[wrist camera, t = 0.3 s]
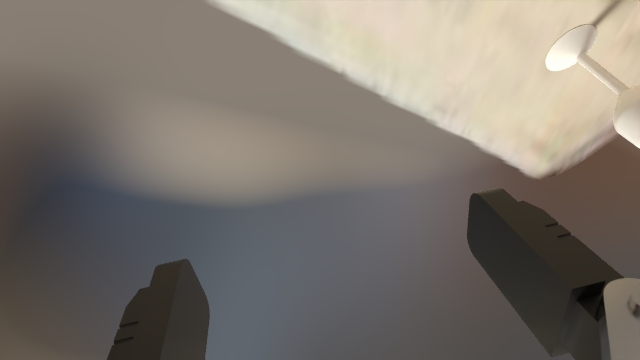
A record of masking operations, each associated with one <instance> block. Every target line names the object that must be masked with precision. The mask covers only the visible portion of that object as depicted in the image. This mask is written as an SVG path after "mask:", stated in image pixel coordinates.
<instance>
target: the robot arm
mask: <svg viewBox="0 0 640 360" xmlns="http://www.w3.org/2000/svg"><path fill="white" fill-rule="evenodd" d="M467 239H468V244H469V247H470V250H471V252H472V254H473V255H474V257H475V258H476V260H477V261H478V262H479V263H480V265H481V266H482V267H483V268H484V270H485V271H486V273H487V274H488V275H489V277H490V278H491V279H492V280H493V282H494V283H495V284H496V286H497V287H498V288H499V290H500V291H501V292H502V293H503V295H504V296H505V297H506V299H507V300H508V301H509V303H510V304H511V305H512V306H513V308H514V309H515V311H516V312H517V313H518V314H519V316H520V317H521V318H522V320H523V321H524V322H525V324H526V325H527V326H528V328H529V329H530V330H531V331H532V333H533V334H534V335H535V337H536V338H537V339H538V341H539V342H540V343H541V345H542V346H543V347H544V348H545V349H546V351H547V352H548V354H549V355H550V356H551V357H554V356H558V355H562V354H565V353H570V354H571V355H572V356H573V358H574V359H575V360H640V279H632V278H624V277H623V276H621V275H620V274H619V273H618V272H616V271H615V270H614V269H613V268H612V267H611V266H609V265H608V264H607V263H606V262H605V261H603V260H602V259H601V258H600V257H599V256H598V255H596V254H595V253H594V252H593V251H592V250H590V249H589V248H588V247H587V246H586V245H584V244H583V243H582V242H581V241H580V240H579V239H577V238H576V237H575V236H571V233H570V232H569V231H568V230H567V229H565V228H564V227H563V226H561V225H559V224H558V222H557V221H556V220H555V219H554V218H552V217H551V216H550V215H549V214H547V213H546V212H545V211H544V210H542V209H540V208H538V207H536V206H533V205H532V204H529V203H527V202H525V201H520V202H517V201H516V200H515V199H514V198H513V197H512V196H511V195H510V194H508V193H507V192H506V191H505V190H504V189H502V188H495V189H491V190H486V191H482V192H477V193H473V194H472V195H471V197H470V203H469V215H468V229H467ZM209 317H210V314H209V305H208V300H207V297H206V295H205V292H204V290H203V288H202V286H201V284H200V282H199V280H198V278H197V276H196V274H195V272H194V269H193V267H192V265H191V263H190V262H189V260H187V259H182V260H178V261H173V262H169V263H165V264H160V265H157V267H156V268H155V270H154V274H153V277H152V280H151V283H150V286H149V287H147V288H143V289H140V290H139V291H138V292H137V294H136V295H135V296H134V297H133V299H132V300H131V301H130V302H129V304H128V305H127V307H126V309H125V311H124V314H123V317H122V320H121V322H120V329H118V331H117V334H116V336H115V339H114V345H112V347H111V350H110V353H109V355H108V358H107V360H205V352H206V344H207V335H208V327H209Z"/></svg>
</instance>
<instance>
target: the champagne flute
mask: <svg viewBox="0 0 640 360" xmlns="http://www.w3.org/2000/svg"><path fill="white" fill-rule="evenodd" d="M596 37H597V30H596V28H595V27H594V26H592V25H582V26H579V27H576V28H574V29H572V30H570V31H569V32H567V33H566V34H564V35H563V36H562V37H561V38H560V39H559V40H558V41H557V42H556V43H555V44H554V45H553V46H552V48H551V49H550V51H549V53H548V55H547V57H546V66H547V68H548V69H549V70H551V71H560V70H563V69H566V68H568V67H570V66H572V65H574V64H575V63H577V62H579V63H580V64H581V65H582V66H584V67H585V68H586V69H587V70H588V71H590V72H591V73H592V74H593V75H594V76H596V77H597V78H598V79H599V80H601V81H602V82H603V83H604V84H605V85H607V86H608V87H609V88H610V89H612V90H613V91H614V92H615V93H616V94H618V95H619V96H620V97H619V98H618V100H617V102H616V106H615V110H614V114H613V121H614V127H615V129H616V131H617V132H618V133H619V134H620V135H622V136H623V137H624V138H626V139H627V140H629V141H630V142H631V143H633V144H634V145H635V146H637V147H638V148H639V149H640V86H635V87H632V88H628V87H627V86H626V85H625V84H623V83H622V82H621V81H620V80H618V79H617V78H616V77H614V76H613V75H612V74H611V73H609V72H608V71H607V70H606V69H604V68H603V67H602V66H600V65H599V64H598V63H597V62H595V61H594V60H593V59H592V58H590V57H589V56H588V55H586V54H587V53H588V51H589V50H590V49H591V47H592V46H593V44H594V42H595V40H596Z"/></svg>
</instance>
